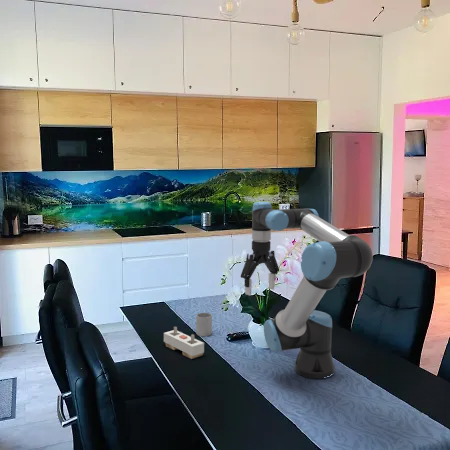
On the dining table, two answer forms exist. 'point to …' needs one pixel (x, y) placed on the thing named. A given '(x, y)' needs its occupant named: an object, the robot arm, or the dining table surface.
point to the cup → (204, 324)
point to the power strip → (184, 343)
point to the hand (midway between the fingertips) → (260, 291)
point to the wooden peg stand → (182, 351)
